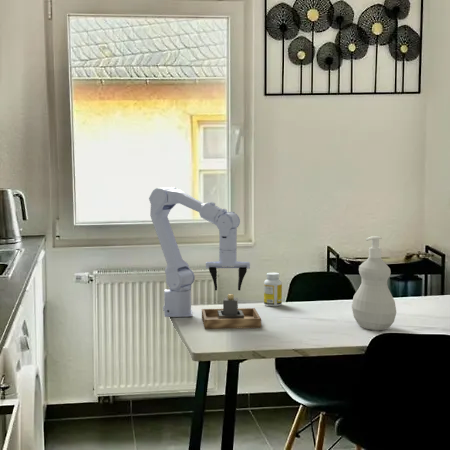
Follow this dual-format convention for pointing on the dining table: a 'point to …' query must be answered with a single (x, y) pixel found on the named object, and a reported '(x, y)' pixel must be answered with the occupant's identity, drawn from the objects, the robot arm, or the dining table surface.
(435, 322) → the dining table surface
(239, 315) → the collar
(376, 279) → the soap bottle
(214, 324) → the walled box
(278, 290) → the pill bottle
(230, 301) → the connector plug
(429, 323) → the dining table surface
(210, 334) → the dining table surface
